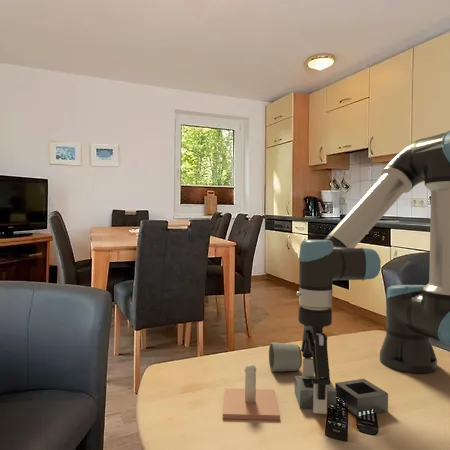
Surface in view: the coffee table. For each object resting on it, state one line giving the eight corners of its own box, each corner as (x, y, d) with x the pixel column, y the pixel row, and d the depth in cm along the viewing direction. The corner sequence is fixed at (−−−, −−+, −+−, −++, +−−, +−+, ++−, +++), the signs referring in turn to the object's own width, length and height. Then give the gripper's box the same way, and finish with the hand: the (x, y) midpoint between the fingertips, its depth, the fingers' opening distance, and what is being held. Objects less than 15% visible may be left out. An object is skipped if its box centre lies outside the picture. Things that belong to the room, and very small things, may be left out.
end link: (327, 392, 91) (327, 376, 91) (336, 409, 83) (336, 391, 83) (294, 392, 91) (294, 375, 91) (300, 408, 83) (300, 390, 83)
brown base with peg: (274, 393, 90) (274, 355, 90) (279, 420, 78) (280, 375, 78) (224, 392, 91) (224, 354, 91) (222, 418, 79) (222, 374, 79)
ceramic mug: (303, 375, 101) (303, 346, 101) (273, 376, 100) (273, 347, 101) (292, 361, 112) (292, 335, 112) (265, 361, 111) (265, 336, 111)
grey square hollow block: (363, 395, 90) (364, 378, 90) (387, 411, 82) (388, 393, 82) (335, 400, 87) (335, 382, 87) (357, 417, 80) (357, 398, 80)
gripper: (291, 295, 99) (289, 375, 99) (309, 320, 74) (307, 426, 75) (319, 296, 99) (318, 375, 99) (347, 321, 74) (345, 427, 74)
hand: (313, 397), depth 87 cm, fingers open, 13 cm apart
